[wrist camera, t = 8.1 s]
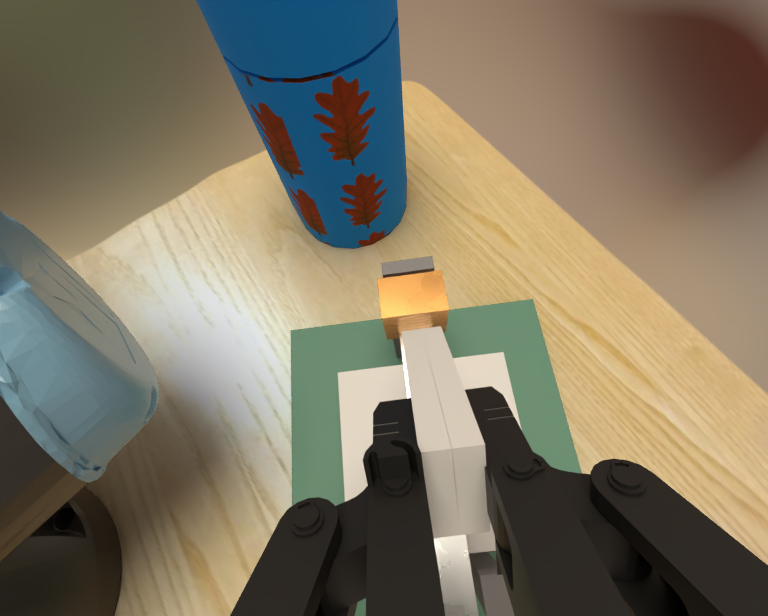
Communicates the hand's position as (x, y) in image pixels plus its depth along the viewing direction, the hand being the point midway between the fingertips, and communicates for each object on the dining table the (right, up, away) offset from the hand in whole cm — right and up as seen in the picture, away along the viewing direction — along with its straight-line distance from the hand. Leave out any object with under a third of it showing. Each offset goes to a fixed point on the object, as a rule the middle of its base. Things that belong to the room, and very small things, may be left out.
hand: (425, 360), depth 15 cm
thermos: (-5, +12, +24) cm, 27 cm away
